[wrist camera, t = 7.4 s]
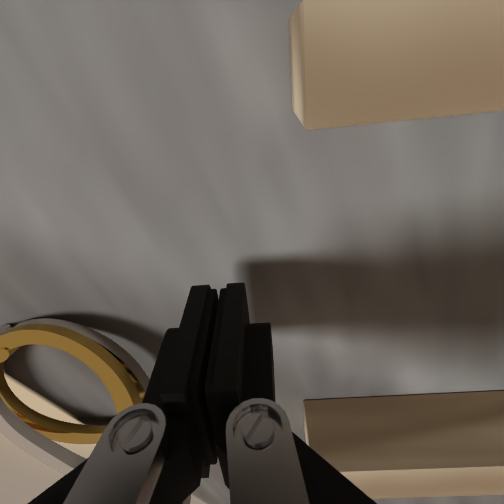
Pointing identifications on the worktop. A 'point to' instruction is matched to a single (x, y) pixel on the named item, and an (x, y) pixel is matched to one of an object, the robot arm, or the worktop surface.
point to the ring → (93, 355)
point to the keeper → (388, 110)
